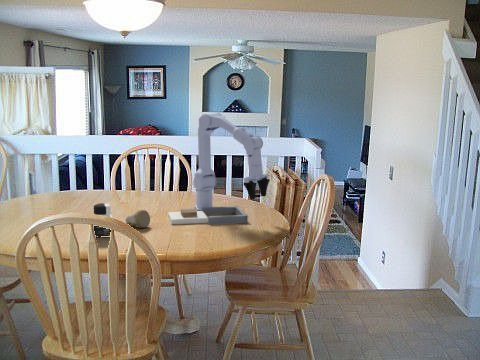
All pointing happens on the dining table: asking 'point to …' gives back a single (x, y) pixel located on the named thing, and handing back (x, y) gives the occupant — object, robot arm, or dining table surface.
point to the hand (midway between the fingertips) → (258, 197)
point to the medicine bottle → (104, 211)
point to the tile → (188, 213)
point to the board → (187, 218)
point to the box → (237, 218)
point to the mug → (139, 219)
